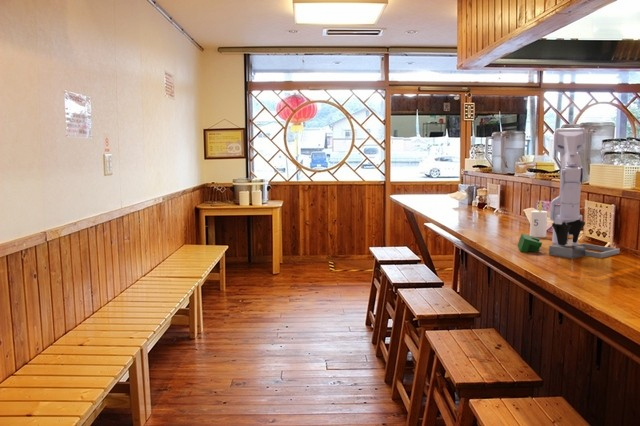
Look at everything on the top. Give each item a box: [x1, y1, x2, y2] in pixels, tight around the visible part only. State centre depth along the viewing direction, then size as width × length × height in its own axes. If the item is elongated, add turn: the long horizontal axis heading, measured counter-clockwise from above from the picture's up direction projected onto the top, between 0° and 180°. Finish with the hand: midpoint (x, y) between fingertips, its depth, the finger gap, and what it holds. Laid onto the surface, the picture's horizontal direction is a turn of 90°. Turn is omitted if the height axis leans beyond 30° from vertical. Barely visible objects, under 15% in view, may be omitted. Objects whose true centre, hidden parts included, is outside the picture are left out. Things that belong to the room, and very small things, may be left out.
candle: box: [529, 200, 549, 238], centre depth 207 cm, size 6×6×15 cm
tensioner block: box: [548, 244, 586, 260], centre depth 166 cm, size 8×8×4 cm
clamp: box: [517, 233, 543, 253], centre depth 176 cm, size 12×6×9 cm, turn 157°
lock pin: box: [562, 234, 573, 248], centre depth 166 cm, size 3×3×7 cm
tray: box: [577, 242, 620, 259], centre depth 171 cm, size 13×13×2 cm
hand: (567, 243), depth 166 cm, fingers open, 7 cm apart
